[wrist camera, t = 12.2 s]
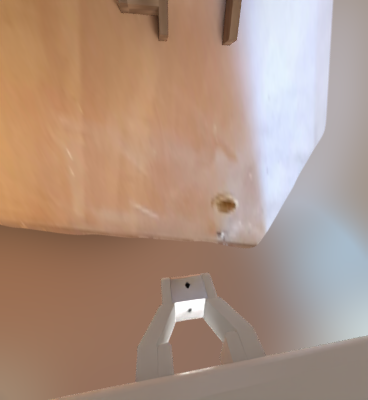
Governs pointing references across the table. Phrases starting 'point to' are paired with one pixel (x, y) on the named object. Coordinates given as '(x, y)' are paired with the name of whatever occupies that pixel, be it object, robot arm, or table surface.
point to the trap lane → (158, 5)
